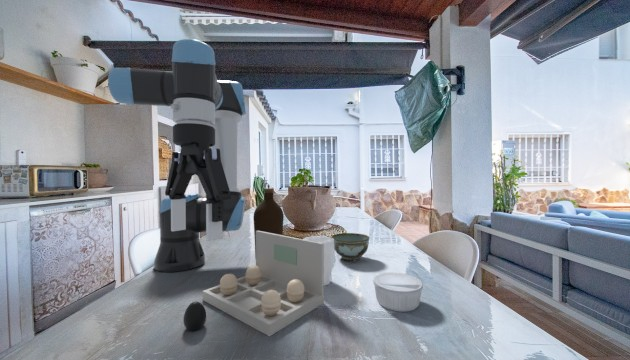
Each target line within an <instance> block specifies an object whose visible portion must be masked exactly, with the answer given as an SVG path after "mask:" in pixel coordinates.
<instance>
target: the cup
mask: <svg viewBox="0 0 630 360" xmlns="http://www.w3.org/2000/svg"><path fill="white" fill-rule="evenodd" d="M302 239H304V240H309V241H314V242H319V243H324V287H325V286H328V285H329V284H330V283H331V279H332V278H331V277H332V270H333V265H334V256H335V249H334V239H333V238H332V236H331V237H330V236H325V235H310V236H305V237H303V238H302Z"/></svg>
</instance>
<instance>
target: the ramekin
mask: <svg viewBox="0 0 630 360" xmlns="http://www.w3.org/2000/svg"><path fill="white" fill-rule="evenodd" d="M372 281H373V285H374V291H375V298H376V300H377V302H378V303H379V305H380V306H382V307H383V308H384V309H387V310H390V311H394V312H399V313H401V312H402V313H403V312H404V313H405V312H411V311H414V310H416V309H417V308H418V307H419V306H420V302H421V296H422V291H423V290H424V289H423V288H424V285H423V282H422V281H421V279H419V278H418V277H415V276H413V275H410V274H407V273H401V272H394V271H393V272H391V271H390V272H382V273H378V274H376V275H375V276H374V277H373V280H372Z"/></svg>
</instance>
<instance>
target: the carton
mask: <svg viewBox="0 0 630 360" xmlns="http://www.w3.org/2000/svg"><path fill="white" fill-rule="evenodd" d="M324 290H325V286H324V243H319V242H314V241H309V240H304V239H303V238H297V237H293V236H288V235H284V234H283V235H278V234H273V233H268V232H263V231H256V259H255V265H251V266H249V267H247V268H246V271H245V275H244V276H241V277H239V278H237V276H236V275H234V273H225V274H223V275H222V277H221V278H220V279H219V284H218V285H215V286H213V287H209V288H207V289H204V290H202V301H204V302H205V303H207V304H209V305H211V306H213V307H214V308H216V309H219V310H220V311H222V312H223V313H226V314H227V315H229V316H231V317H233V318H235V319H236V320H238V321H241V322H242V323H244V324H245V325H248V326H249V327H252V328H253V329H255V330H257V331H259V332H260V333H262V334H264V335H265V336H266V335H267V336H269V337H271V336H273V335H275V334H277V332H279V331H281V330H282V329H285V328H286V327H288V326H289V325H291V324H292V323H294V322H296V321H297V320H298V319H300V318H302V317H304V316H306V315H307V314H308V313H310V312H312V311H313V310H315V309H316V308H317V309H318V308H319V307H320V306H321V304H322V305H323V304H324V303H325V302H324V301H325V300H324V298H325V297H324V296H325V291H324Z"/></svg>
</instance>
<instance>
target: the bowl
mask: <svg viewBox="0 0 630 360" xmlns="http://www.w3.org/2000/svg"><path fill="white" fill-rule="evenodd" d="M331 238H333V239H334V252H335V253H336V254H338V256H340V257H341V260H342V261H345V262H357V261H359V260H360V257H362V256H364V254H366V253H367V251H368V248H369V245H370V244H369V243H370V236H368V235H366V234H363V233H356V232H354V233H353V232H341V233H335V234H332V235H331Z"/></svg>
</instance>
